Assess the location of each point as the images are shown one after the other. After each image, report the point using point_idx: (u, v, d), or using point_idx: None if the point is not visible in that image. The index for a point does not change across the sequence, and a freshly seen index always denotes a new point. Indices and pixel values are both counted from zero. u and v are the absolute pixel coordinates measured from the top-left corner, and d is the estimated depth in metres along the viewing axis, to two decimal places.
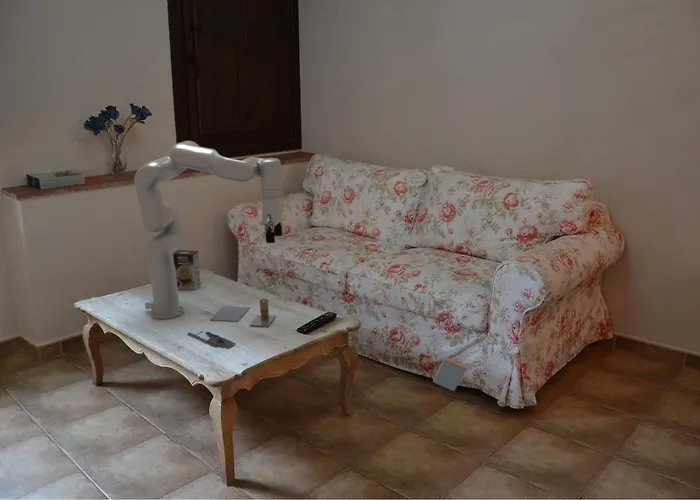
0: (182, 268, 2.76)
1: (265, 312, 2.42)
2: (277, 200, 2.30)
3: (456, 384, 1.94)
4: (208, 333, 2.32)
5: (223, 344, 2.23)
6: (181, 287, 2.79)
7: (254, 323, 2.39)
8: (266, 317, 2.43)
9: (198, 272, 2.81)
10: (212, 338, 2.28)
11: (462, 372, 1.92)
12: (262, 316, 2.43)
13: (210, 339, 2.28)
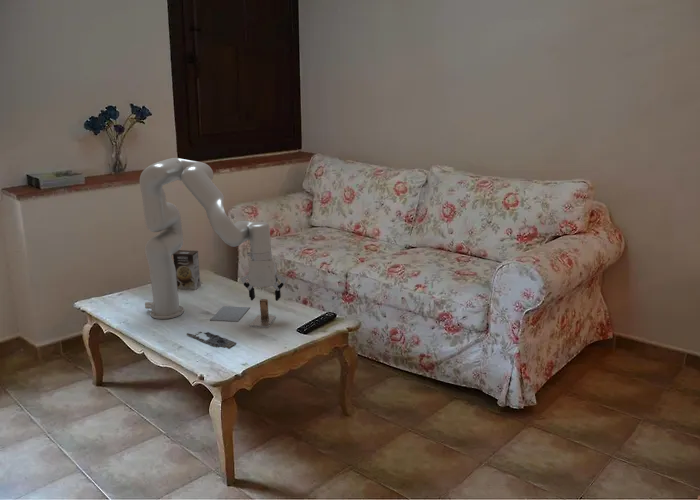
0: (182, 268, 2.76)
1: (265, 312, 2.42)
2: None
3: None
4: (207, 333, 2.32)
5: (224, 344, 2.23)
6: (181, 287, 2.79)
7: (254, 323, 2.39)
8: (266, 317, 2.43)
9: (198, 272, 2.81)
10: (212, 338, 2.28)
11: None
12: (262, 316, 2.43)
13: (210, 339, 2.27)
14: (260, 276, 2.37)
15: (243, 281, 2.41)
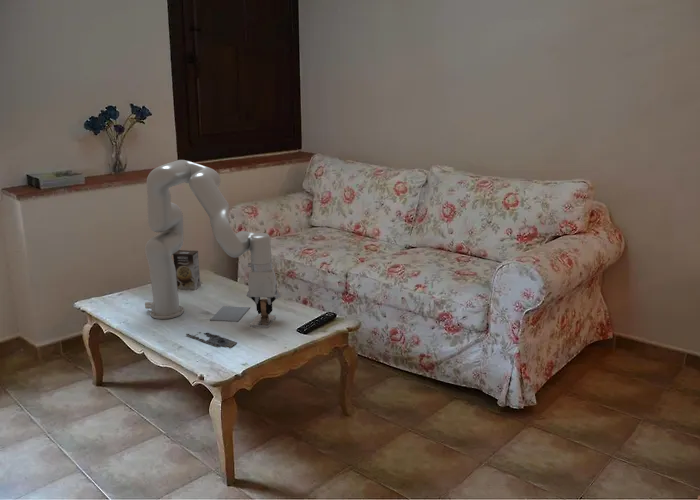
0: (182, 268, 2.76)
1: (265, 312, 2.42)
2: None
3: None
4: (207, 333, 2.32)
5: (225, 344, 2.23)
6: (181, 287, 2.79)
7: (254, 323, 2.39)
8: (266, 317, 2.43)
9: (198, 272, 2.81)
10: (212, 338, 2.28)
11: None
12: (262, 316, 2.43)
13: (210, 339, 2.27)
14: (260, 287, 2.38)
15: (250, 296, 2.42)
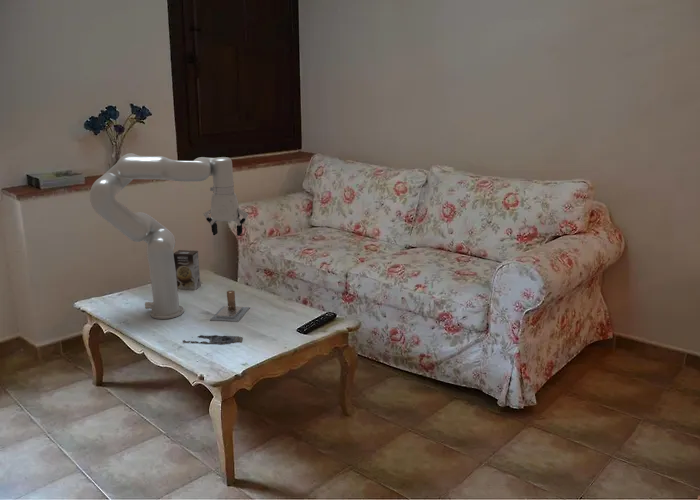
0: (182, 268, 2.76)
1: (232, 303, 2.50)
2: None
3: None
4: (202, 336, 2.30)
5: (233, 340, 2.26)
6: (181, 287, 2.79)
7: (221, 314, 2.47)
8: (233, 308, 2.51)
9: (198, 272, 2.81)
10: (213, 339, 2.28)
11: None
12: (229, 307, 2.51)
13: (212, 340, 2.27)
14: (222, 210, 2.42)
15: (206, 216, 2.47)
